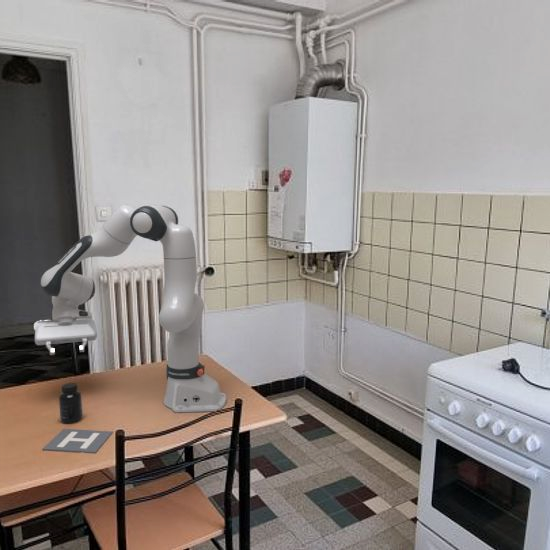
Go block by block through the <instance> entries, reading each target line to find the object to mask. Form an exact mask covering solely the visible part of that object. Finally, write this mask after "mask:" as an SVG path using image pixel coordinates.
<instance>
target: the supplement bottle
mask: <svg viewBox="0 0 550 550" xmlns="http://www.w3.org/2000/svg"><path fill="white" fill-rule="evenodd" d="M60 389H61V393H60V394H59V395H58V406H59V407H58V408H59V418H60V422H61V423H63V424H64V425H65V424H67V425H68V424H69V425H71V424H75V423H78V422H79V421H81V420H82V419H83V417H84V415H83V413H84V412H83V402H82V401H83V400H82V392H81V391H79V390H78V384H77V383H76V382H67V383H64V384H62V385H61V387H60Z"/></svg>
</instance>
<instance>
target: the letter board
mask: <svg viewBox="0 0 550 550" xmlns="http://www.w3.org/2000/svg"><path fill="white" fill-rule="evenodd" d="M113 433H114V432H113V431H111V430H110V431H107V430H93V429H92V430H91V429H87V430H86V429H74V428H63V429H61V431H59V432H58V433H57V434H56V435H55V436H54V437H53V438H52V439H51V440H50V441H49V442H48V443H47V444H45V445H44V446H43V447H42V448H41V450H42V451H48V452H51V451H53V452H67V453H81V452H84V453H85V454H97V452H98V451H99V450H100V449H101V448H102V446H103V445H104V444H105V443H106V442H107V440H108V439H109V438H110V437H111V435H112V434H113ZM109 436H110V437H109ZM104 442H105V443H104ZM99 448H100V449H99ZM98 449H99V450H98ZM97 450H98V451H97Z"/></svg>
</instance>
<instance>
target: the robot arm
mask: <svg viewBox="0 0 550 550" xmlns="http://www.w3.org/2000/svg"><path fill="white" fill-rule="evenodd" d="M137 236H138V237H141V238H143V239H147V240H149V241H153V242H159V241H160V243H161V245H162V251H163V253H162V255H163V270H164V271H163V273H164V285H163V286H164V287H163V292H162V301H161V308H160V311H159V315H158V322H159V325H160V327H161V328H162V329H163V330H164V331H166V332H168V333H169V337H168V340H167V344H166V345H167V346H166V347H167V348H166V349H167V351H166V353H167V364H166V368H165V375H166V380H167V383H166V391H165V395H164V399H163V405H164V406H166V407H167V408H169V409H171V410H172V411H173V412H174V413H195V412H196V413H199V412H218V411H219V410H222V409H223V407H225V405H226V404H227V394H225V392H221V387H220V384H219V382H218V381H217V380H215V379H214V378H212V377H211V376H209V374H207V373H206V372H205V367H206V366H205V363H203V364H202V363H201V362H200V350H199V349H200V336H201V330H202V321H203V312H204V307H205V303H204V300H203V298H202V297H201V296H200V295H199V293H195V292H196V284H197V280H198V273H197V272H198V270H197V267H198V265H197V253H196V252H197V250H196V244H195V238H194V234H193V231H192V229H191V228H190V227H189V226H187V225H183V224H179V216H178V214H177V212H176V211H174V209H173V208H171V207H169V206H167V205H157V204H152V205H151V204H150V205H149V204H148V205H142V206H140V207H138V208H136V207H135V206H132V205H129V204H123V205H120V206H119V207H118V208H117V209H116V210H114V212H113V213H111V214H110V215H109V217H108V218H107V220H106V221H105V222H104V223H103V224H102V226H101V227H100V228H99V229H98V230H96V231H95V232H93V233H91V234H89V235H84V236H83V237H81V238H80V239H79V240H78V241H77V242H75V243H74V245H72V247H70V249H69V250H67V252H66V253H65V254H64V255H63V256H62V257H61V258H60V259H59V260H57V262H56V263H55V264H53V265H52V266H50V267H49V268H48V269H47V270H45V271H44V272H43V274H42V276H41V277H40V282H39V286H40V288H41V290H42V291H43V293H44V294H45V295H46V296H50V297H51V304H52V306H53V307H52V310H51V311H52V313H51V316H52V318H51V319H50V318H49V319H39V320H37V321H36V322H34V324H33V331H35V332H34V344H35V345H37V346H44V345H45V347H46V349H47V350H48V351H49V356H55V354H56V352H55V348H54V347H52V345H57V344H67V343H78V342H80V343H81V342H82V343H81V345H79V353H84V352H85V346H86V345H87V343H88V342H91V341H95V340H96V339H97V337H98V332H97V331H98V329H97V326H96V322H95V321H94V319H93V315H92V312H91V311H89V310H88V311H87V310H82V309H79V306H81V305H82V306H83V305H84V304H85V303H87V302H89V301H90V300H92V299H93V298H94V296H95V293H96V285H95V281H94V280H93V278H92V277H89V276H86V275H83V274H79V273H77V272H76V273H75V272H72V271H73V270H74V269H75V268H76V266H78V265H79V264H80V262H82V261H83V260H86V259H88V258H94V257H95V258H97V257H98V258H99V257H103V258H104V257H105V258H112V257H118V256H120V255H122V254H123V253H124V252H126V250H127V249H128V248H129V246H130V245H131V244H132V242H133V241H134V239H135V238H136V237H137ZM217 410H218V411H217Z"/></svg>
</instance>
